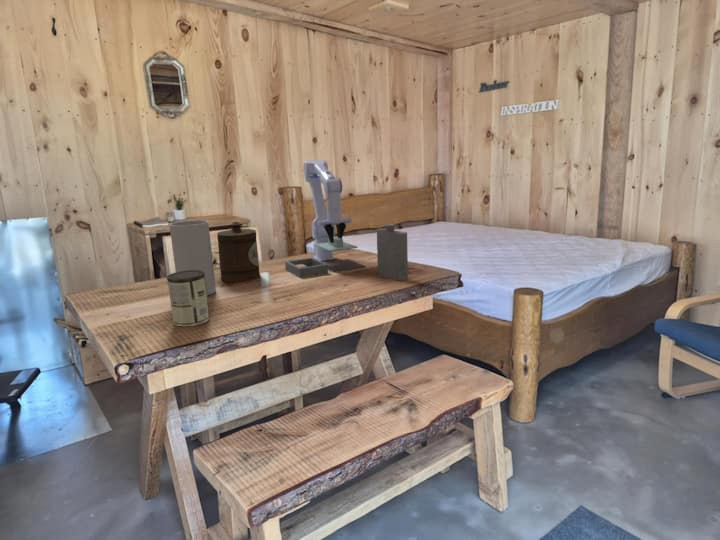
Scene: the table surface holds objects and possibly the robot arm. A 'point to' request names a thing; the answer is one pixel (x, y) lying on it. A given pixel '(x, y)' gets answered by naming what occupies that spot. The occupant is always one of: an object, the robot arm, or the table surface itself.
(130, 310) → the table surface
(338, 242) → the lid
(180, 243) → the cylinder vase
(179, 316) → the coffee can
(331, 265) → the mat
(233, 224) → the wooden container
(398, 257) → the hip flask
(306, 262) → the storage box
